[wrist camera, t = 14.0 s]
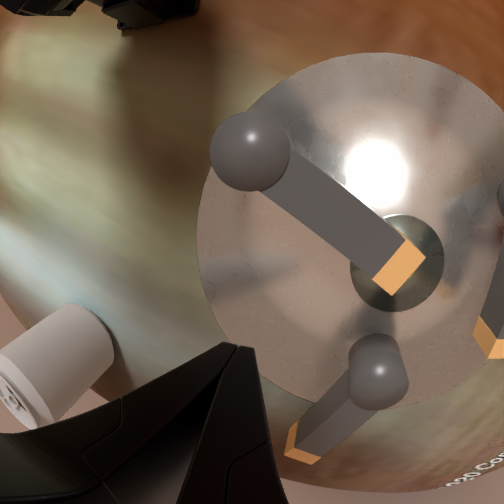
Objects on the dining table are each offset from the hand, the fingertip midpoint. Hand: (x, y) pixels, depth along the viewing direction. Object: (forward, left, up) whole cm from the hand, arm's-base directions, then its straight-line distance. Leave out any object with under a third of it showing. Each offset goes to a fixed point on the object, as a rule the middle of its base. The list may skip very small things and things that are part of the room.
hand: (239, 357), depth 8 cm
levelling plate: (0, +7, -12) cm, 14 cm away
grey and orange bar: (+10, +5, -11) cm, 16 cm away
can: (+12, -18, -12) cm, 25 cm away
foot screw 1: (-3, +1, -11) cm, 11 cm away
